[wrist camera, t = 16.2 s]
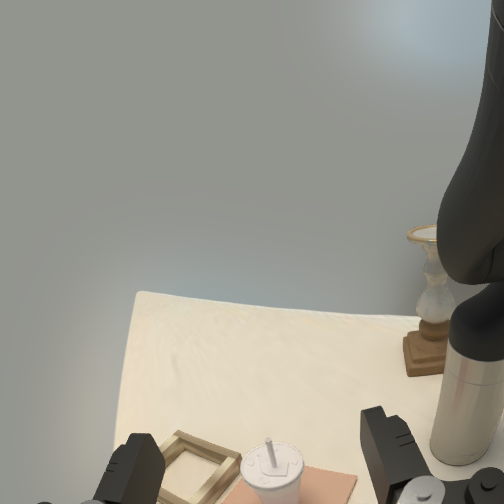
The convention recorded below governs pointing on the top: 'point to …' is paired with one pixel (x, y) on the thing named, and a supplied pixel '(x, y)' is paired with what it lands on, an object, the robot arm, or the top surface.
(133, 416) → the top surface
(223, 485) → the square wooden tray
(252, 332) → the top surface
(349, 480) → the tile
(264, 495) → the smoothie
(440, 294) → the candle holder
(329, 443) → the top surface
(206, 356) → the top surface
